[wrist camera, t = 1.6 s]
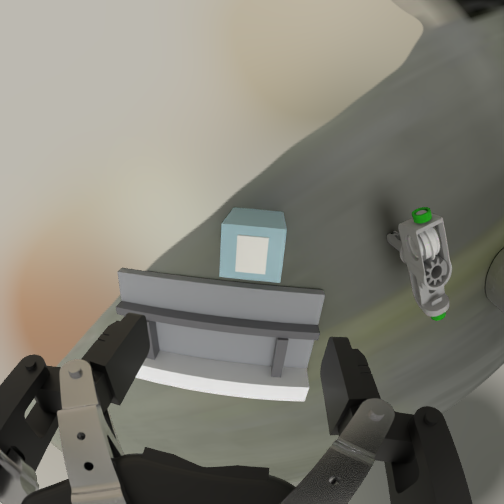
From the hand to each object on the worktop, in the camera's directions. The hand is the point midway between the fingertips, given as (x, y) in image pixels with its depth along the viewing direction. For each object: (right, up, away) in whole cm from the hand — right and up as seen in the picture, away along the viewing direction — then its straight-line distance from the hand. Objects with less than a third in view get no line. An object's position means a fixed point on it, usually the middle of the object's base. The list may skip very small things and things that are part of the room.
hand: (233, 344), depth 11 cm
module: (+1, +6, +17) cm, 18 cm away
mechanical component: (+16, +6, +16) cm, 24 cm away
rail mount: (-4, -7, +22) cm, 23 cm away
